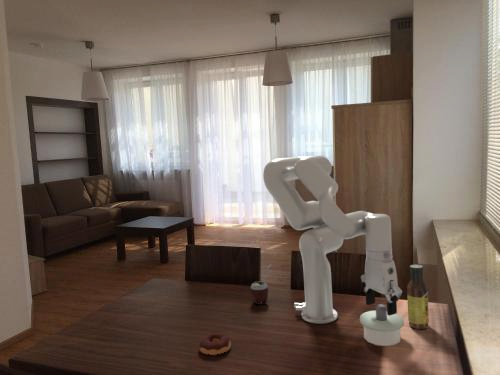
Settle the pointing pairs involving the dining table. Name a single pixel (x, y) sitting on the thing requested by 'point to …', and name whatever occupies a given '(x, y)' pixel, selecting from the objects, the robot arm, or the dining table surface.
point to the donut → (215, 343)
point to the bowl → (382, 337)
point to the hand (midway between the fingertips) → (381, 308)
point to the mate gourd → (260, 290)
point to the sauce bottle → (417, 299)
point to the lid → (381, 320)
